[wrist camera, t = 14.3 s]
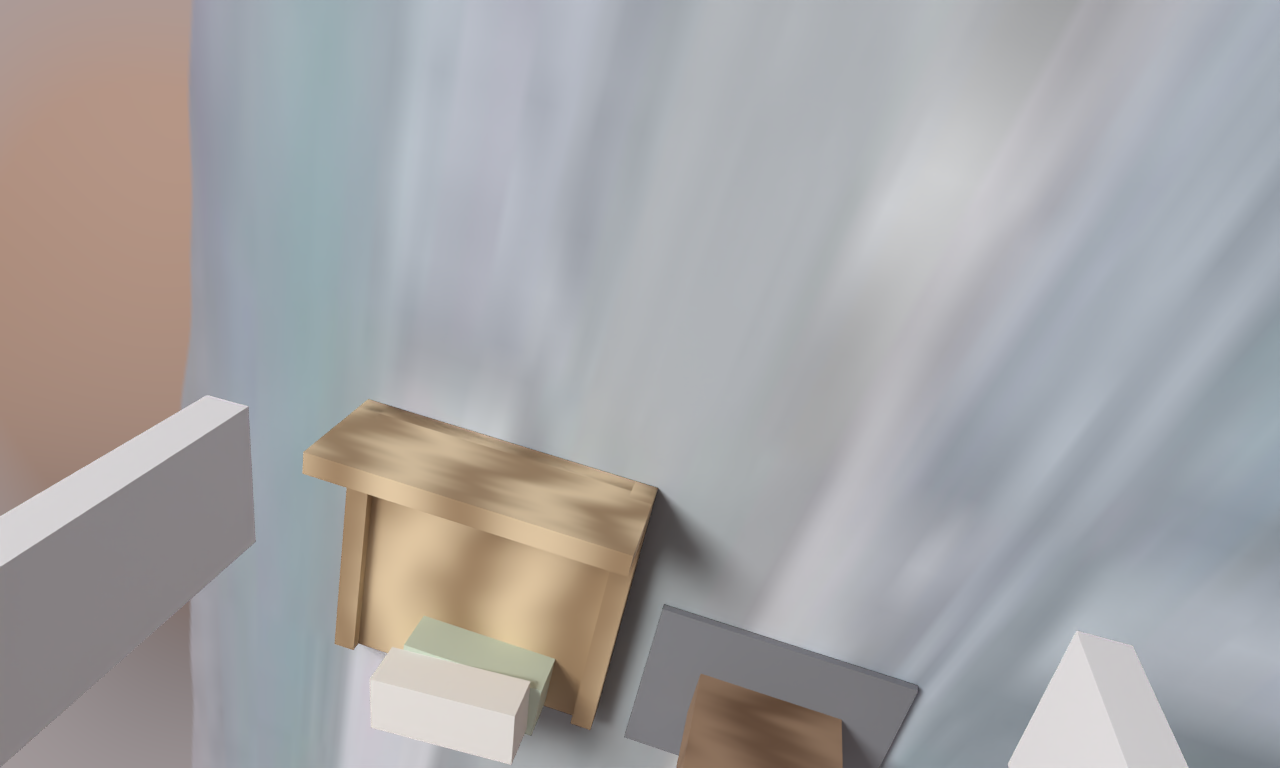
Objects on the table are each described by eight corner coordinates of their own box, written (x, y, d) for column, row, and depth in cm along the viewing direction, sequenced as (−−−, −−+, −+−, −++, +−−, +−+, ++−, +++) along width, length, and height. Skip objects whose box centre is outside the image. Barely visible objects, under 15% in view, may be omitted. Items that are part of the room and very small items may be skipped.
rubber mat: (917, 685, 44) (918, 690, 43) (855, 808, 48) (855, 814, 47) (664, 604, 45) (662, 609, 44) (625, 731, 49) (624, 737, 49)
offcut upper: (530, 681, 44) (514, 716, 42) (526, 728, 46) (511, 764, 44) (392, 646, 45) (369, 679, 43) (392, 693, 47) (370, 727, 45)
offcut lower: (555, 658, 47) (541, 691, 44) (545, 702, 48) (531, 735, 46) (423, 615, 47) (404, 644, 45) (417, 660, 49) (398, 690, 47)
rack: (658, 488, 42) (633, 556, 37) (596, 709, 49) (568, 794, 43) (368, 399, 43) (303, 452, 38) (348, 626, 50) (291, 698, 45)
